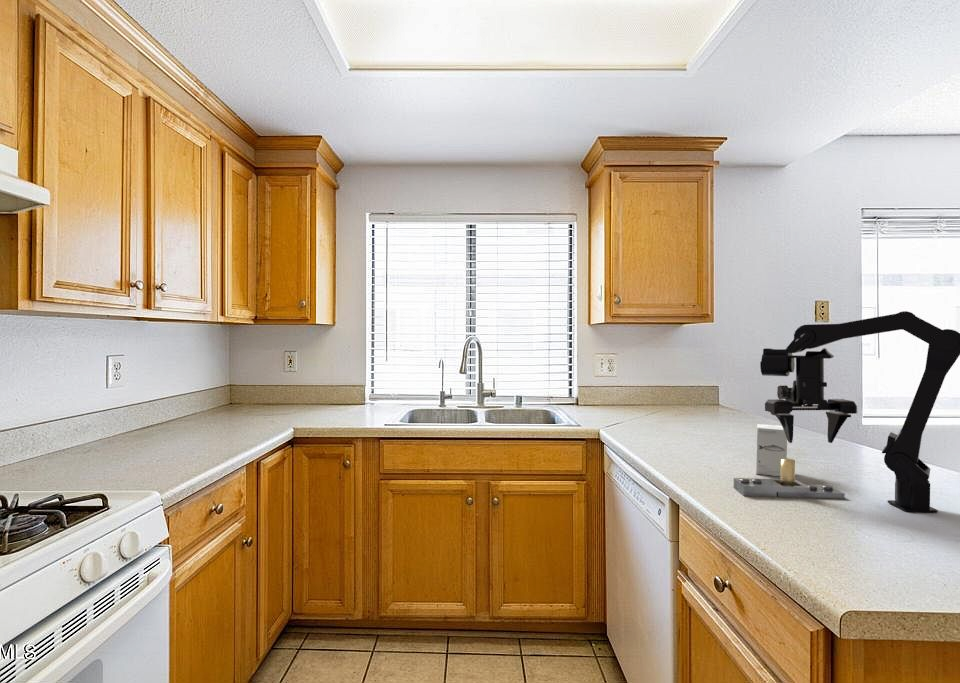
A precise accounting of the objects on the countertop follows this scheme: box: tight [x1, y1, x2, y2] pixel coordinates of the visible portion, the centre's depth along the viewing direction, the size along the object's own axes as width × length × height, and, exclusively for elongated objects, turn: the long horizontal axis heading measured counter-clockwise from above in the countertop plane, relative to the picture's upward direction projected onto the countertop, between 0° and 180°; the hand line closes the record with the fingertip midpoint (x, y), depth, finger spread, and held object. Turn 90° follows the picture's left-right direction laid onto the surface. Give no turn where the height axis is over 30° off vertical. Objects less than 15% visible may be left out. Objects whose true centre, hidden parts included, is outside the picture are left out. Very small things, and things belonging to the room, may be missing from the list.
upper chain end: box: [733, 477, 810, 498], centre depth 134 cm, size 7×14×3 cm, turn 85°
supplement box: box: [755, 423, 788, 477], centre depth 152 cm, size 7×7×13 cm
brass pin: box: [779, 458, 796, 486], centre depth 133 cm, size 3×3×8 cm
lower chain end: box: [776, 484, 846, 500], centre depth 133 cm, size 7×14×2 cm, turn 85°
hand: (810, 442), depth 134 cm, fingers open, 9 cm apart
